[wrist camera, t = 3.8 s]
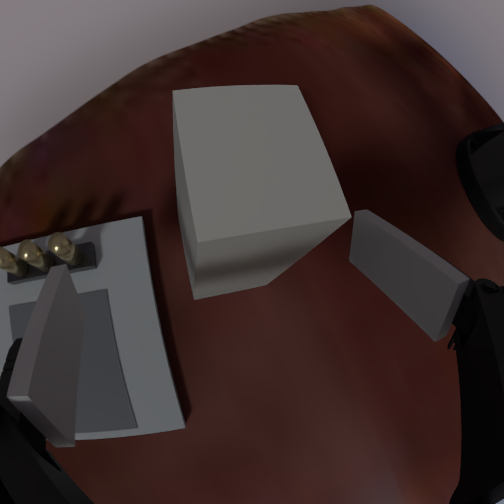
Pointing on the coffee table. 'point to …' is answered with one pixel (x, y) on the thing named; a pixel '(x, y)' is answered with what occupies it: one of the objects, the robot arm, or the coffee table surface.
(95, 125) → the coffee table surface
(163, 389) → the board
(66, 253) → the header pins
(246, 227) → the plug block
